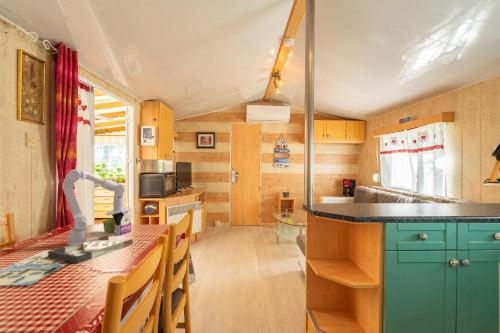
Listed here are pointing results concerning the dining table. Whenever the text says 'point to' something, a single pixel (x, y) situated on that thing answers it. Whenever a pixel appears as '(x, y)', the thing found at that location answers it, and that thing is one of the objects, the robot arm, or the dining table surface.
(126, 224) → the candy bar box
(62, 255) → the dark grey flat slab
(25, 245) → the dining table surface
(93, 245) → the white brass knuckles
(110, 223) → the plant pot
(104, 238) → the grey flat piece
